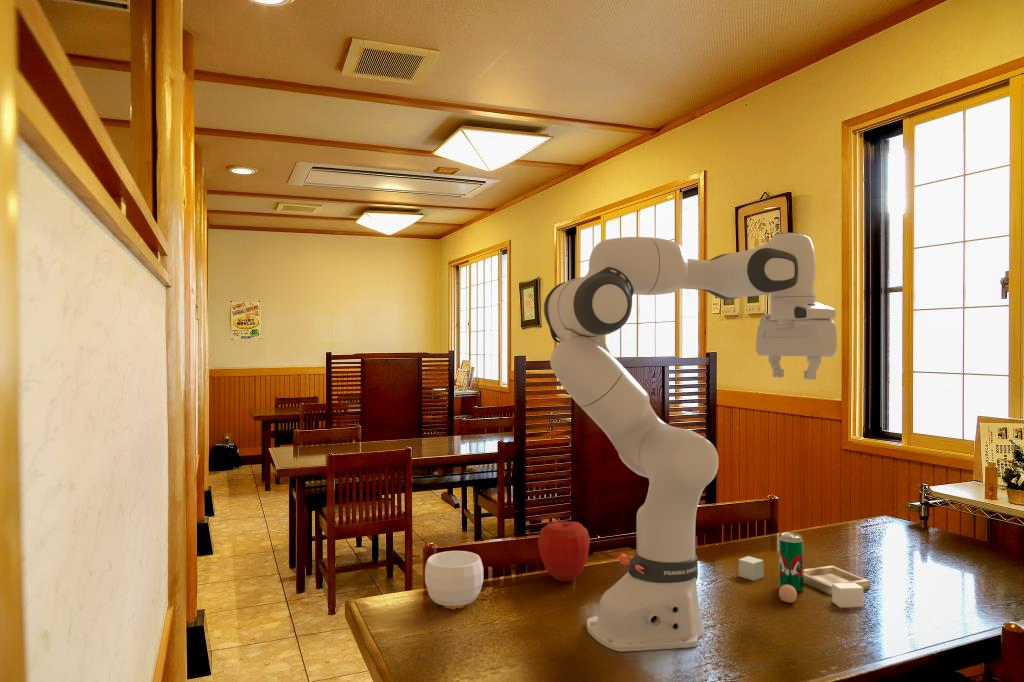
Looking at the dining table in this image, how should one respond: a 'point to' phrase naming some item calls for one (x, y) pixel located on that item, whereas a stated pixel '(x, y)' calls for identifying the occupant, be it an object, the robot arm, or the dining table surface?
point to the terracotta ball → (787, 593)
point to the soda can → (791, 561)
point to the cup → (454, 577)
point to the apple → (564, 549)
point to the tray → (831, 578)
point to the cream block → (847, 594)
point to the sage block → (751, 568)
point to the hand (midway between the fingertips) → (793, 378)
